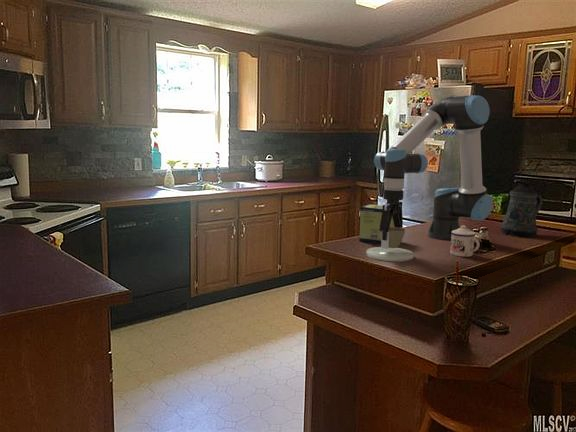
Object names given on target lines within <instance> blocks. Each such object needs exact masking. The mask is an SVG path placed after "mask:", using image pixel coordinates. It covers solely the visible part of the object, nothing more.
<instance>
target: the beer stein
mask: <svg viewBox="0 0 576 432" xmlns="http://www.w3.org/2000/svg"><path fill="white" fill-rule="evenodd" d="M509 196H510V200H509V203H508V207H507V210H506V213H505V216H504V219H503V221H502V223H501V225H500V230H501V234H502V233H503V234H502V235H505V234H506V235H505V236H508V235H511V236H510V237H514V236H518V237H517V238H529V237H530V238H535V237H537V234H538V231H539V229H538V227H537V217H536V216H537V215H538V213H539V212H540V210H541V208H542V205H543V198H542V195H541V193H539V188H537V187H535V186H532V185H531V183H522V182H521V183H519V184H518V186H516V187H514V188H513V189H511V190H510V191H509Z"/></svg>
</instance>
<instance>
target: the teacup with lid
mask: <svg viewBox="0 0 576 432" xmlns="http://www.w3.org/2000/svg"><path fill="white" fill-rule="evenodd" d="M451 234H452V237H451V240H450V250H449V252H450V254H451V255H453V256H456V257H460V258H461V257H462V258H463V257H464V258H465V257H467V258H468V257H472V256H474V252H476V251H478V250H479V248H480V241H479V239H476V238H475V236H476V234H475V232H474V231H473V230H470V229H468V228H467V226H466V225H460V228H459V229H457V230H453V231H452V232H451ZM475 244H476V246H475V248H474V245H475Z"/></svg>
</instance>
